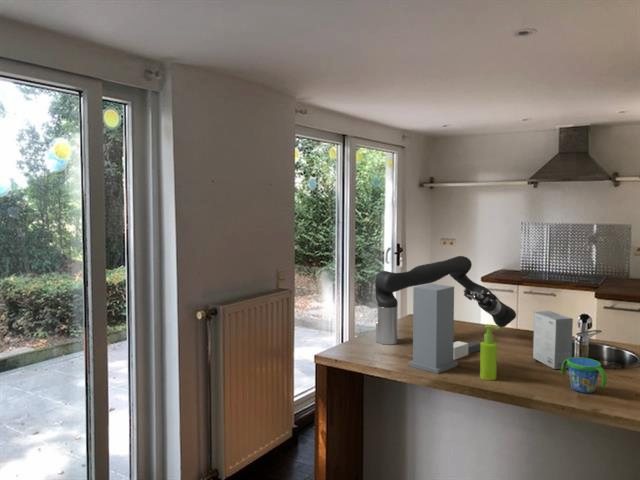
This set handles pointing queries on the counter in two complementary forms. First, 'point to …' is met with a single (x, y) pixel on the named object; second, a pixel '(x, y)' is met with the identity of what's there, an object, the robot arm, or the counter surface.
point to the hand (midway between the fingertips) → (473, 290)
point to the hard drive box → (552, 338)
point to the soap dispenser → (488, 355)
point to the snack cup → (584, 373)
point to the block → (464, 348)
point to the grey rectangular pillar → (433, 328)
